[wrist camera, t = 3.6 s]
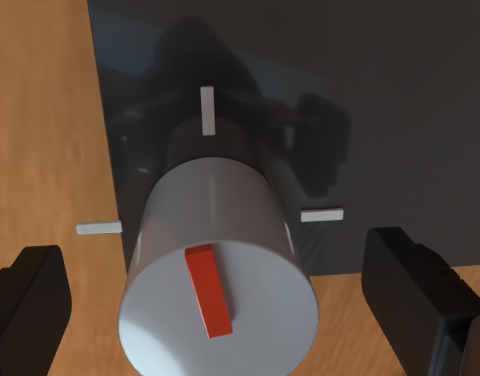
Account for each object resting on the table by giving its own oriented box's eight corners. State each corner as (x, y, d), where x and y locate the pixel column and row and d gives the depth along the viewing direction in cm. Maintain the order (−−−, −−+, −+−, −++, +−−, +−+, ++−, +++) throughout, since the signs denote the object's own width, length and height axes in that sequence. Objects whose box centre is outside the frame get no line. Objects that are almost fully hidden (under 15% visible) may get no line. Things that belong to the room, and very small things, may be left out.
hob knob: (288, 261, 15) (333, 389, 10) (164, 288, 15) (147, 429, 10) (268, 143, 13) (310, 227, 8) (126, 172, 13) (83, 276, 8)
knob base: (112, 282, 18) (96, 335, 15) (61, -32, 13) (24, -40, 10) (458, 259, 19) (504, 305, 16) (525, -35, 14) (607, -45, 12)
